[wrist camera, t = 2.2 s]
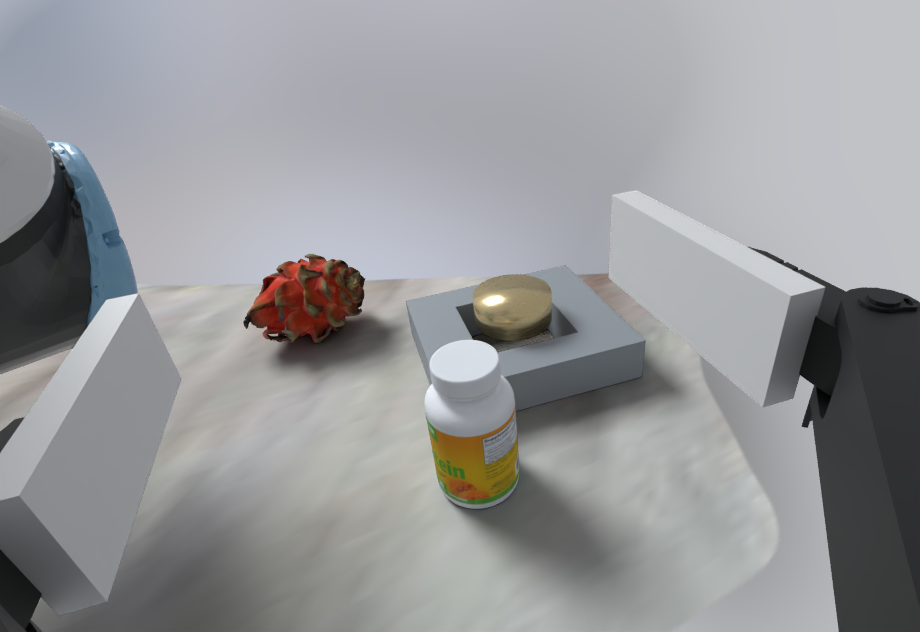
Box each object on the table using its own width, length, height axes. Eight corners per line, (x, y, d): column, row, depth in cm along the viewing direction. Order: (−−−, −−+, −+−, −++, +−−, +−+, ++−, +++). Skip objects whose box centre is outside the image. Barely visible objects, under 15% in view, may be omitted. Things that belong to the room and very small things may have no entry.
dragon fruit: (386, 327, 54) (276, 379, 51) (352, 263, 57) (246, 309, 54) (379, 293, 46) (248, 353, 44) (340, 220, 49) (215, 272, 46)
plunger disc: (488, 348, 40) (486, 321, 39) (466, 309, 46) (463, 284, 44) (564, 329, 41) (564, 302, 40) (534, 293, 47) (533, 268, 45)
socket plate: (446, 430, 38) (440, 393, 36) (411, 332, 50) (405, 301, 48) (641, 376, 41) (645, 340, 39) (565, 295, 53) (565, 265, 51)
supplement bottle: (422, 477, 35) (397, 361, 30) (481, 435, 37) (468, 322, 32) (475, 527, 31) (457, 405, 26) (537, 476, 34) (532, 357, 29)
